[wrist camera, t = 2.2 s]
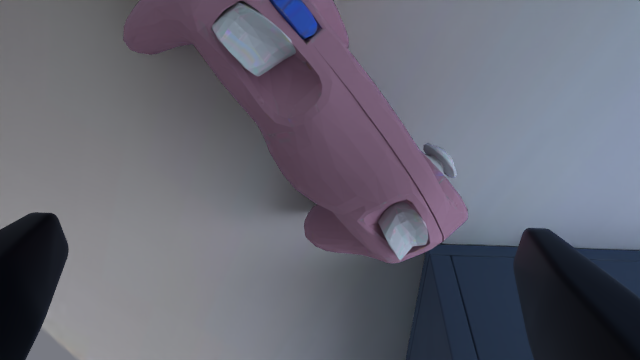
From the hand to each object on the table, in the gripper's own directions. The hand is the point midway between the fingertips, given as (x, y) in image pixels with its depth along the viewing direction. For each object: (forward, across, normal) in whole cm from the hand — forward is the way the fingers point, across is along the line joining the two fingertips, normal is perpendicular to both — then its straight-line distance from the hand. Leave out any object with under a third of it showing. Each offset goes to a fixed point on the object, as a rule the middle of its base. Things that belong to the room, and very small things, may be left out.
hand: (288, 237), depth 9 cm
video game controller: (+7, 0, 0) cm, 7 cm away
